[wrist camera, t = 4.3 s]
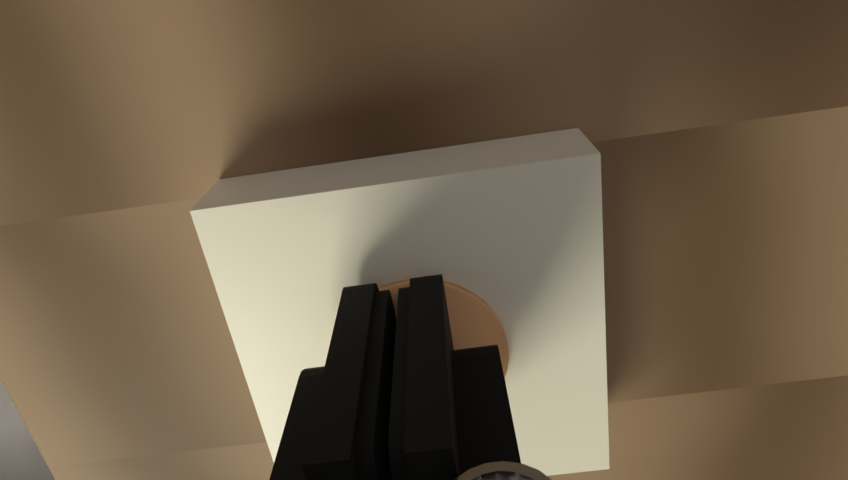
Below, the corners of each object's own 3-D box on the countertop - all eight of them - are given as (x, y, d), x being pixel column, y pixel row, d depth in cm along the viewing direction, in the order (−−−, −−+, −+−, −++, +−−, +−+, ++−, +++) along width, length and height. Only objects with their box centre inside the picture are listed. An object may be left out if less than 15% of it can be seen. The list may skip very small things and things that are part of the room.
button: (535, 79, 15) (604, 157, 9) (551, 307, 17) (612, 476, 12) (274, 118, 15) (184, 215, 9) (329, 335, 18) (285, 512, 12)
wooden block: (794, -199, 13) (997, -284, 8) (741, 404, 19) (837, 542, 15) (-23, -58, 14) (-240, -64, 9) (192, 467, 21) (127, 611, 16)
